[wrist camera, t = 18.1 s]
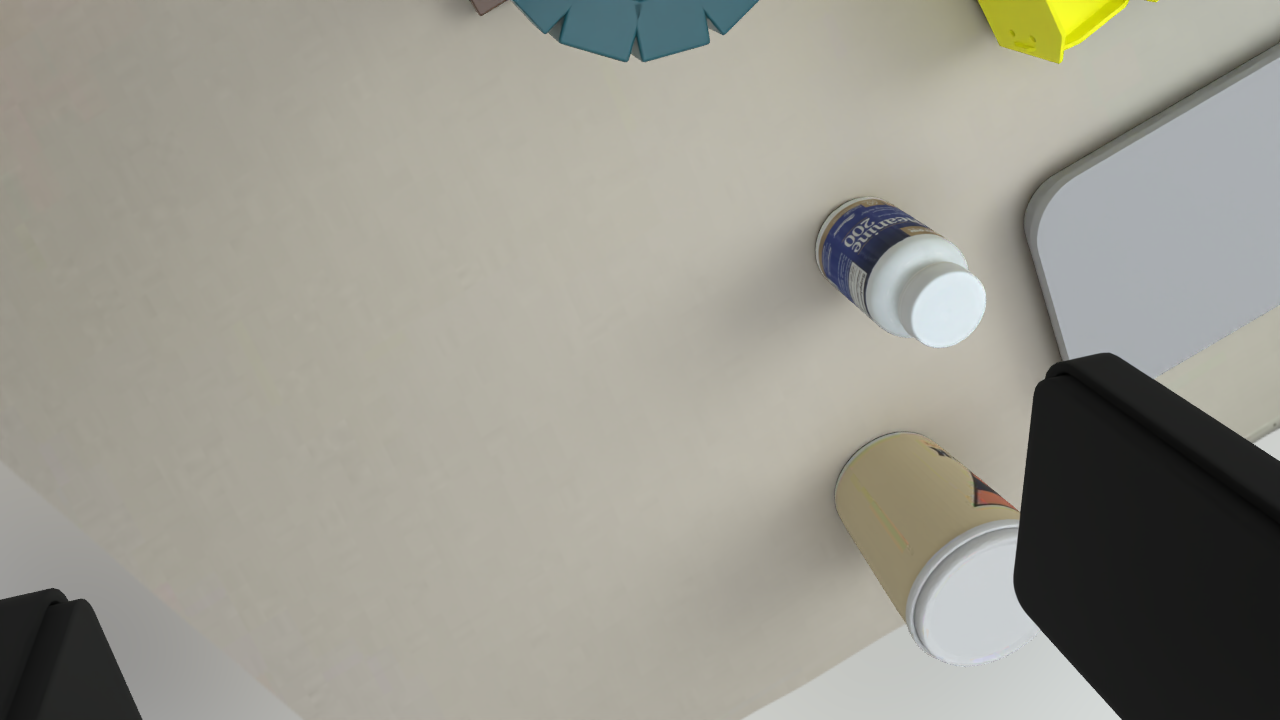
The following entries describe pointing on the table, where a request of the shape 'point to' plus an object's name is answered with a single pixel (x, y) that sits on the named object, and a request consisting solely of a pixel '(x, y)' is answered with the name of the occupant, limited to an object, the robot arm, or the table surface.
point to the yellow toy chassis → (1047, 23)
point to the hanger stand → (485, 5)
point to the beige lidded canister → (937, 547)
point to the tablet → (1167, 227)
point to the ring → (634, 24)
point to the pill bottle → (900, 273)
